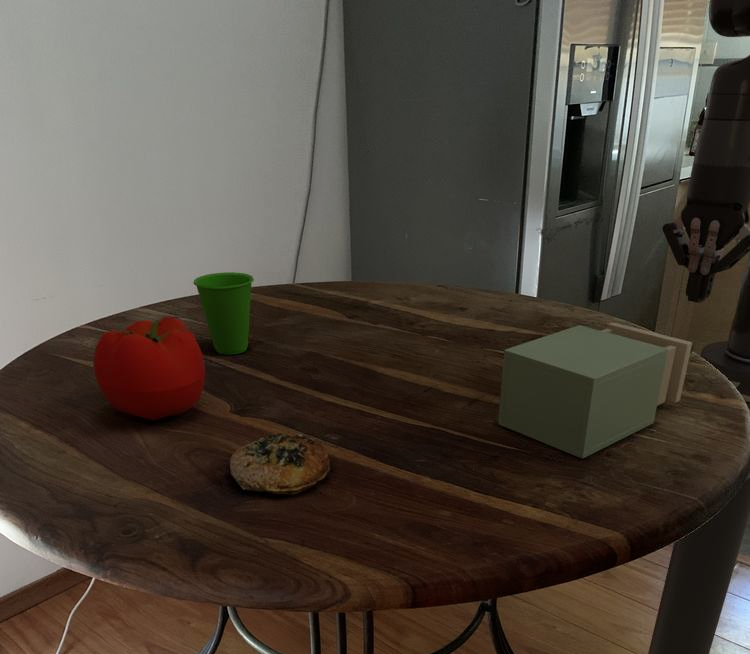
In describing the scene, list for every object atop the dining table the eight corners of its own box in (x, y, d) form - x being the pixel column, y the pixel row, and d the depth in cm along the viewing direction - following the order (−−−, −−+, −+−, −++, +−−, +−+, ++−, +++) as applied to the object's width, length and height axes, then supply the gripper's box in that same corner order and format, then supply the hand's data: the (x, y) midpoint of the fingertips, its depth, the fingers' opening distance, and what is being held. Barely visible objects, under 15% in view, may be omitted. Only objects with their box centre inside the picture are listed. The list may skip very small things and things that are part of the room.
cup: (270, 350, 116) (264, 279, 111) (219, 363, 111) (210, 290, 106) (242, 336, 122) (235, 269, 117) (192, 348, 118) (182, 278, 112)
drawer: (630, 366, 106) (639, 313, 102) (704, 388, 98) (717, 331, 94) (543, 402, 95) (549, 343, 91) (619, 430, 87) (630, 367, 83)
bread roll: (334, 448, 85) (330, 411, 82) (327, 508, 76) (323, 469, 73) (240, 451, 86) (232, 414, 83) (222, 511, 77) (213, 473, 74)
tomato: (152, 442, 88) (135, 347, 82) (82, 414, 95) (62, 325, 89) (234, 406, 97) (224, 318, 91) (164, 383, 104) (151, 301, 98)
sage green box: (570, 394, 99) (579, 324, 94) (653, 423, 91) (668, 348, 86) (497, 424, 91) (503, 349, 86) (582, 459, 83) (594, 378, 78)
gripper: (794, 162, 88) (757, 306, 97) (692, 154, 97) (666, 287, 106) (765, 166, 84) (729, 316, 93) (661, 158, 93) (637, 296, 101)
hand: (695, 300), depth 99 cm, fingers closed
